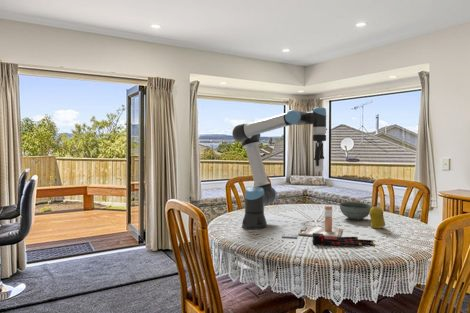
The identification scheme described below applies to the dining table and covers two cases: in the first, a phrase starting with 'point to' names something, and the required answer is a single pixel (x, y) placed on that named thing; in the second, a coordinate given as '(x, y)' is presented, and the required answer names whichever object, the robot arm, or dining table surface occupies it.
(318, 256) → the dining table surface
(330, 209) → the pastel stick
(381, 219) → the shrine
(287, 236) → the grey striped tile
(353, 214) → the bowl
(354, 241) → the toy
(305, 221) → the dining table surface
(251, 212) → the robot arm
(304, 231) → the clipboard
